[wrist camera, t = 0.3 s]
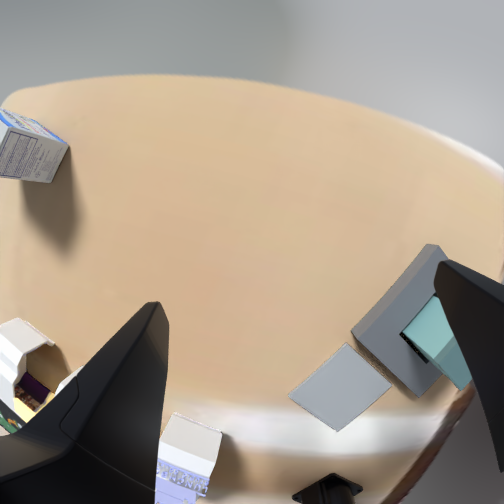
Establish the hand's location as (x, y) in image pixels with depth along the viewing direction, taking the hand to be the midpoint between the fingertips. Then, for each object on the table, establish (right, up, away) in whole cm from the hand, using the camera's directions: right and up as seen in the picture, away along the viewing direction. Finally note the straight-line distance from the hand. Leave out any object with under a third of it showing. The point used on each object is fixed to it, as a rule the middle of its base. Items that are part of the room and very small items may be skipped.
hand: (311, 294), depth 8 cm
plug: (+14, -5, +14) cm, 20 cm away
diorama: (-18, -15, +17) cm, 29 cm away
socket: (+14, -5, +14) cm, 20 cm away
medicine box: (-24, +12, +15) cm, 31 cm away
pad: (+6, -11, +15) cm, 20 cm away
